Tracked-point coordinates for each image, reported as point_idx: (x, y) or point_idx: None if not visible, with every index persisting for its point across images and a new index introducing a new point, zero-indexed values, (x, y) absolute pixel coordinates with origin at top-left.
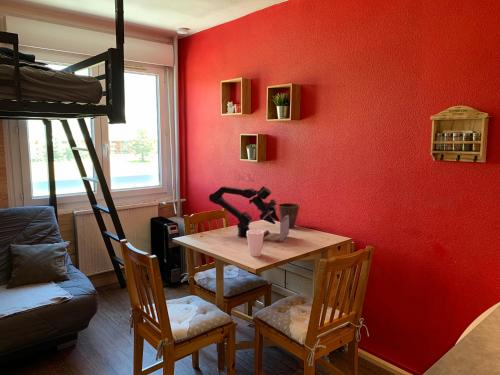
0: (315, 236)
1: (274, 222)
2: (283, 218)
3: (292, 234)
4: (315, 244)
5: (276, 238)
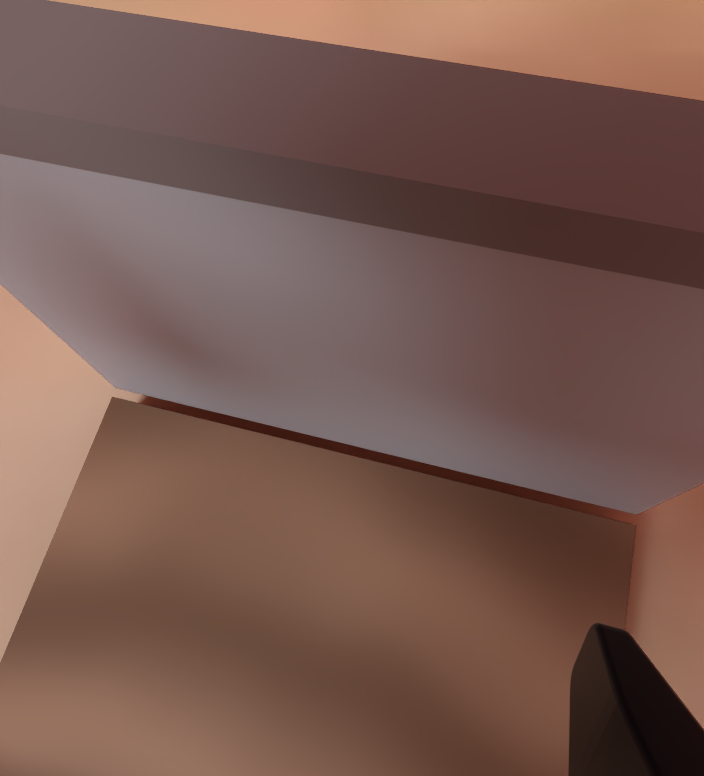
0: (157, 6)
1: (653, 681)
2: (495, 153)
3: (2, 303)
4: (588, 14)
5: (483, 601)
